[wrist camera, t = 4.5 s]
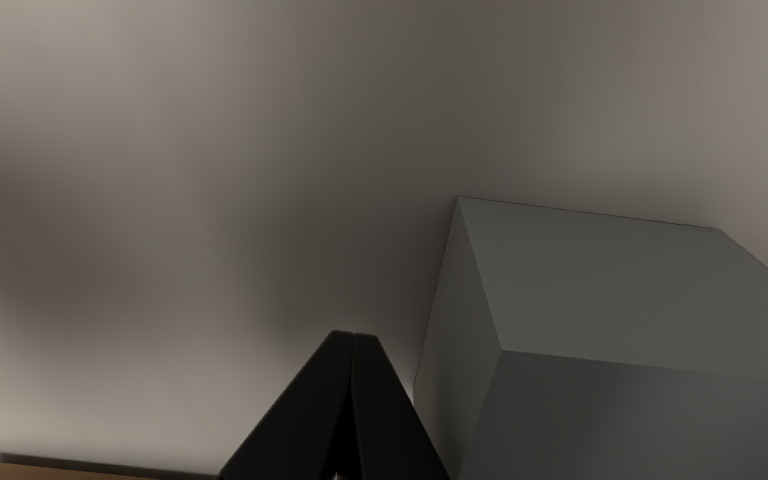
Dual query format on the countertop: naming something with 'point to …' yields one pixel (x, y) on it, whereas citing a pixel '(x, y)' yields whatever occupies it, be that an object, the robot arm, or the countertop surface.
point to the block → (594, 349)
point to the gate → (55, 474)
